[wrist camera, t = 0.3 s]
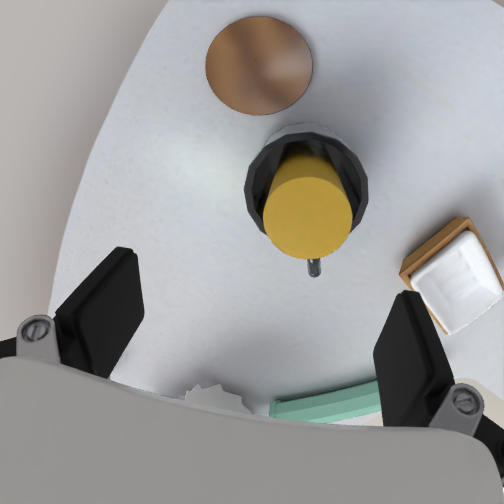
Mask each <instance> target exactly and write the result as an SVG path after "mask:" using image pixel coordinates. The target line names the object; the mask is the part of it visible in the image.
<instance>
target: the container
mask: <svg viewBox="0 0 504 504" xmlns="http://www.w3.org/2000/svg"><path fill="white" fill-rule="evenodd" d="M377 411H381V403H380V396H379V389H378V383H377V380H376V381H372V382H369V383H365V384H361V385H357V386H354V387H350V388H346V389H342V390H337V391H333V392H329V393H325V394H320V395H315V396H311V397H306V398H301V399H296V400H290V401H285V402H281V401H280V400H276V401H273V402H271V403H270V410H269V417H271V418H279V419H287V420H295V421H304V422H314V423H330V422H335V421H340V420H345V419H349V418H353V417H358V416H362V415H366V414H370V413H374V412H377Z"/></svg>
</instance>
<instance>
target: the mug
mask: <svg viewBox="0 0 504 504" xmlns="http://www.w3.org/2000/svg"><path fill="white" fill-rule="evenodd" d="M301 144H310V145H314V146H317V147H319V148H321V149H322V150H324V151H325V152H326V153H327V154H328V155H329V156H330V158H331V160H332V162H333V164H334V166H335V169H336V171H337V174H338V176H339V178H340V181H341V183H342V186H343V188H344V191H345V193H346V196H347V198H348V201H349V203H350V206H351V210H352V226H351V230H350V233H351V232H352V231H353V230H354V229H355V227H356V226H357V225H358V224H359V223H360V222H361V220H362V217H363V214H364V212H365V209H366V207H367V204H368V200H369V199H368V178H367V175H366V173H365V171H364V169H363V167H362V165H361V163H360V161H359V159H358V157H357V156H356V154H355V153H354V152H353V151H352V149H351V148H350V147H349V146H348V145H347V143H346V142H345V141H344V140H343V139H341V138H340V137H339V136H338V135H337V134H336V133H334V132H333V131H332V130H330V129H329V128H326V127H323V126H321V125H317V124H312V123H297V124H292V125H288V126H286V127H284V128H282V129H280V130H279V131H277V132H275V133H274V134H272V135H271V136H270V138H269V139H268V140H267V141H266V143H265V144H264V145H263V147H262V148H261V149H260V151H259V152H258V154H257V155H256V157H255V158H254V160H253V161H252V163H251V164H250V166H249V169H248V173H247V177H246V181H245V186H244V193H245V199H246V204H247V210H248V213H249V214H250V216H251V217H252V219H253V220H254V222H255V223H256V225H257V226H258V228H259V230H260V231H261V232H263V233H264V234H266V235H267V233H266V231H265V227H264V222H263V213H264V207H265V204H266V201H267V198H268V195H269V191H270V188H271V185H272V182H273V178H274V175H275V172H276V169H277V166H278V163H279V160H280V158H281V157H282V155H283V154H284V153H285V152H286V151H287V150H288V149H290V148H292V147H294V146H296V145H301ZM350 233H349V234H350ZM267 236H268V235H267ZM307 265H308V273H309V275H310V276H311V277H314V278H315V277H318V276H319V275H320V274H321V262H320V258H317V259H307Z"/></svg>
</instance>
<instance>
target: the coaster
mask: <svg viewBox="0 0 504 504" xmlns="http://www.w3.org/2000/svg"><path fill="white" fill-rule="evenodd" d="M312 71H313V61H312V55H311V51H310V49H309V46H308V44H307V43H306V41H305V39H304V38H303V37H302V36H301V34H300V33H299V32H298V31H297V30H296V29H294V28H293V27H291V26H290V25H288V24H287V23H285V22H283V21H280V20H278V19H274V18H270V17H249V18H245V19H241V20H238V21H236V22H234V23H232V24H230V25H229V26H227V27H226V28H224V29H223V30H222V31H221V32H220V33H219V34H218V35H217V36H216V37H215V39H214V40H213V42H212V43H211V45H210V48H209V50H208V53H207V57H206V76H207V79H208V82H209V85H210V87H211V89H212V90H213V92H214V93H215V95H216V96H217V97H218V98H219V99H220V100H221V101H222V102H223V103H224V104H226V105H227V106H228V107H230V108H232V109H234V110H236V111H238V112H241V113H245V114H250V115H268V114H273V113H276V112H280V111H282V110H284V109H286V108H288V107H289V106H291V105H292V104H294V103H295V102H296V101H297V100H298V99H299V98H300V97H301V96H302V95H303V93H304V92H305V91H306V89H307V87H308V85H309V83H310V80H311V76H312Z"/></svg>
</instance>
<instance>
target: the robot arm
mask: <svg viewBox="0 0 504 504" xmlns="http://www.w3.org/2000/svg"><path fill="white" fill-rule="evenodd" d="M55 313H56V316H55V317H54V318H53V319H52V318H51V317H49V316H47V315H34V316H31V317H29V318H27V319H26V320H24V321H23V322H22V323H21V324H20V326H19V327H18V330H17V337H14V338H11V339H7V340H4V341H0V504H504V429H502V428H501V427H500V426H498V425H497V424H496V423H494V422H493V421H491V420H490V419H489V418H488V417H486V416H484V415H483V411H484V400H483V398H482V396H481V394H480V393H479V392H478V390H476V389H475V388H474V387H473V386H470V385H468V384H464V383H458V384H455V381H454V378H453V377H454V376H453V373H452V370H451V368H450V365H449V362H448V359H447V357H446V354H445V352H444V349H443V346H442V344H441V341H440V339H439V336H438V334H437V331H436V329H435V326H434V324H433V322H432V319H431V317H430V315H429V312H428V310H427V308H426V306H425V303H424V301H423V299H422V297H421V294H420V293H419V292H417V291H409V290H404V291H403V292H402V293H399V294H397V296H396V298H395V301H394V303H393V306H392V308H391V311H390V313H389V316H388V318H387V320H386V323H385V325H384V327H383V329H382V332H381V334H380V336H379V338H378V341H377V343H376V345H375V347H374V351H373V358H374V364H375V370H376V376H377V383H378V389H379V396H380V403H381V410H382V418H383V426H382V427H381V426H359V425H340V424H326V423H314V422H304V421H295V420H287V419H279V418H271V417H264V416H258V415H252V414H245V413H240V412H234V411H229V410H223V409H218V408H213V407H208V406H204V405H199V404H195V403H190V402H186V401H182V400H178V399H174V398H170V397H166V396H162V395H158V394H154V393H151V392H147V391H144V390H140V389H137V388H133V387H130V386H127V385H124V384H120V383H117V382H114V381H111V380H108V377H109V376H110V374H111V372H112V370H113V369H114V367H115V365H116V364H117V362H118V360H119V358H120V357H121V355H122V353H123V352H124V350H125V348H126V347H127V345H128V343H129V342H130V340H131V338H132V337H133V335H134V333H135V332H136V330H137V328H138V327H139V325H140V323H141V322H142V320H143V318H144V304H143V297H142V290H141V282H140V274H139V265H138V257H137V254H136V253H134V252H133V250H132V249H130V248H124V247H116V248H115V249H114V250H113V251H112V252H111V253H110V254H109V255H108V256H107V257H106V258H105V259H104V260H103V261H102V262H101V263H100V264H99V265H98V266H97V267H96V268H95V269H94V270H93V271H92V272H91V273H90V274H89V276H88V277H87V278H86V279H85V280H84V281H83V282H82V283H81V284H80V285H79V286H78V287H77V288H76V289H75V290H74V292H73V293H72V294H71V295H70V296H69V297H68V298H67V299H66V300H65V301H64V303H63V304H62V305H61V306H60V307H59V308H58V309H57V310H56V312H55Z"/></svg>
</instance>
